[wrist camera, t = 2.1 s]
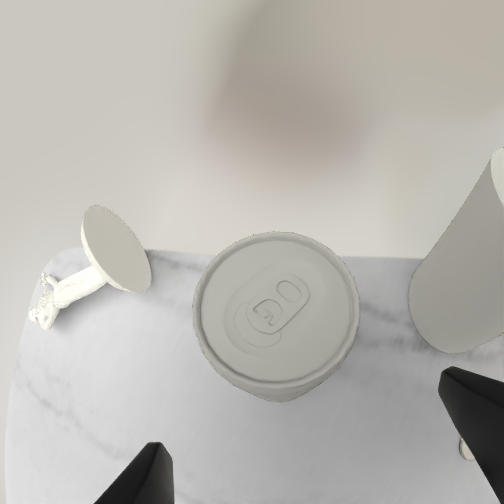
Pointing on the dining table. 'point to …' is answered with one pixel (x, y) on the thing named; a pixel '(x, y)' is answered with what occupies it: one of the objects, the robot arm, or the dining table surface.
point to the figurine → (97, 265)
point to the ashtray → (465, 451)
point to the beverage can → (276, 314)
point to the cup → (465, 272)
